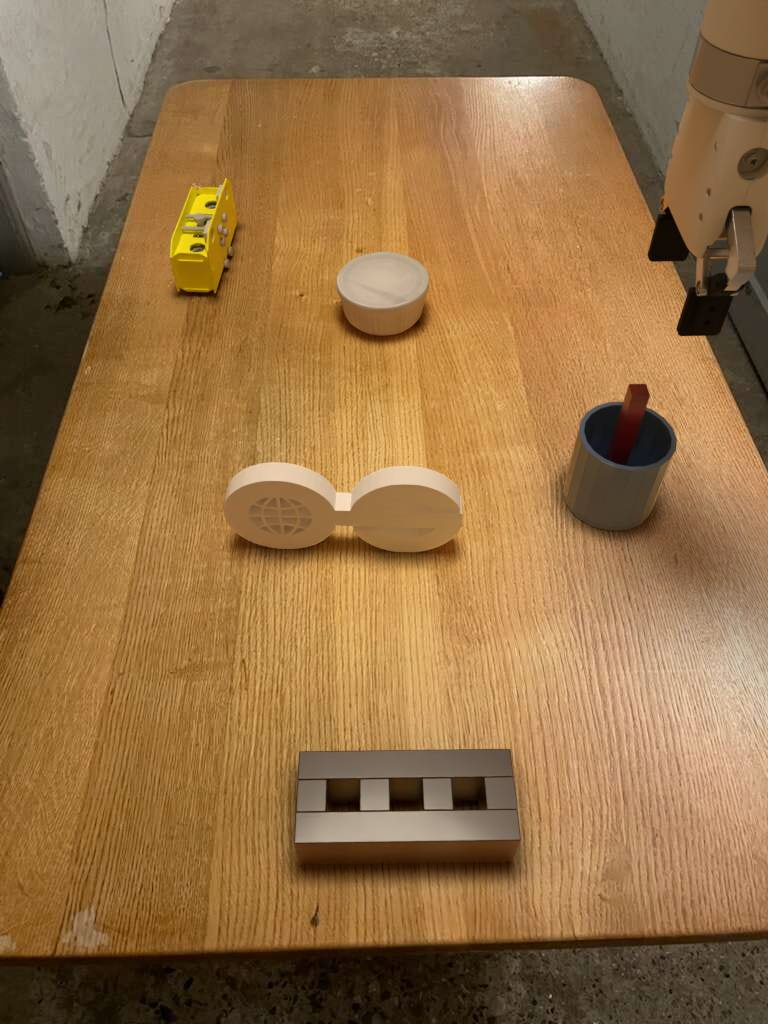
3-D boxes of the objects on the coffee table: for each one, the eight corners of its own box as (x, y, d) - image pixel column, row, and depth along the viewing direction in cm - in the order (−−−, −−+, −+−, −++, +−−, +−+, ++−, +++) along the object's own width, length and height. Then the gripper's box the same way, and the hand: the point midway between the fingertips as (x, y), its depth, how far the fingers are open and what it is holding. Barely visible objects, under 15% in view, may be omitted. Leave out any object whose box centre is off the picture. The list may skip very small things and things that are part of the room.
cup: (669, 516, 84) (696, 455, 77) (591, 541, 82) (610, 481, 75) (622, 454, 89) (643, 392, 82) (547, 477, 87) (562, 415, 80)
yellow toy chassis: (220, 298, 106) (210, 240, 100) (176, 296, 106) (162, 238, 100) (241, 227, 116) (233, 171, 110) (200, 226, 116) (190, 169, 110)
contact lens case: (231, 547, 81) (215, 479, 73) (235, 529, 83) (219, 460, 75) (458, 553, 81) (466, 485, 73) (457, 535, 82) (465, 467, 74)
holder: (512, 862, 63) (521, 840, 59) (299, 864, 63) (293, 843, 59) (503, 773, 67) (510, 748, 63) (303, 776, 67) (298, 750, 63)
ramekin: (337, 343, 100) (335, 307, 96) (338, 287, 108) (336, 251, 103) (430, 342, 101) (432, 306, 97) (424, 286, 108) (426, 250, 104)
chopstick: (615, 497, 84) (650, 395, 74) (599, 497, 84) (632, 395, 74) (612, 485, 86) (646, 383, 75) (597, 486, 85) (628, 383, 75)
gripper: (864, 131, 47) (762, 365, 61) (768, 14, 59) (699, 233, 72) (732, 133, 47) (658, 367, 61) (661, 16, 59) (612, 235, 72)
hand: (681, 294), depth 66 cm, fingers open, 9 cm apart
